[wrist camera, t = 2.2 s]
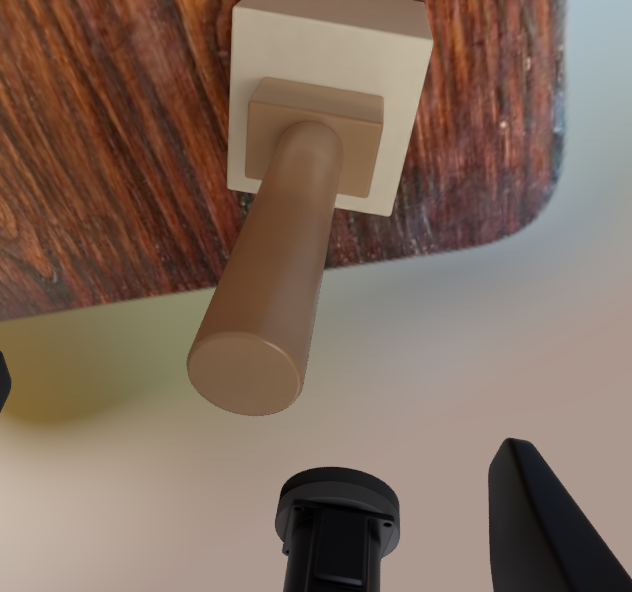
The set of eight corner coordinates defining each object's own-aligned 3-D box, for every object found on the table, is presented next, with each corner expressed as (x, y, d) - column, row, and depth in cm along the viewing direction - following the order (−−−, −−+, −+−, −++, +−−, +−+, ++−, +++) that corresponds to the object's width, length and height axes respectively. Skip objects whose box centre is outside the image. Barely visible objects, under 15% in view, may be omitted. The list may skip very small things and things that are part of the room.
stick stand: (391, 151, 20) (390, 218, 16) (258, 128, 20) (226, 189, 16) (425, 1, 17) (434, 40, 13) (268, -25, 17) (231, 5, 13)
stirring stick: (370, 166, 15) (349, 444, 8) (258, 148, 15) (131, 406, 8) (385, 96, 14) (376, 345, 7) (264, 75, 14) (118, 300, 7)
